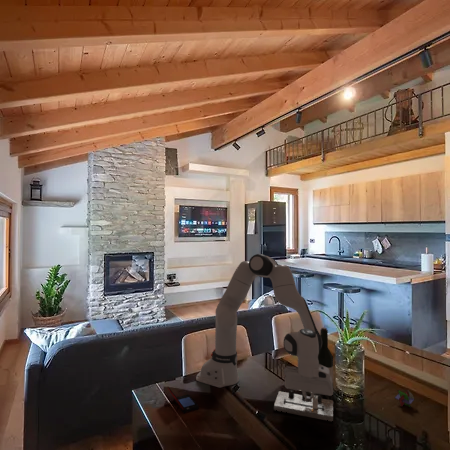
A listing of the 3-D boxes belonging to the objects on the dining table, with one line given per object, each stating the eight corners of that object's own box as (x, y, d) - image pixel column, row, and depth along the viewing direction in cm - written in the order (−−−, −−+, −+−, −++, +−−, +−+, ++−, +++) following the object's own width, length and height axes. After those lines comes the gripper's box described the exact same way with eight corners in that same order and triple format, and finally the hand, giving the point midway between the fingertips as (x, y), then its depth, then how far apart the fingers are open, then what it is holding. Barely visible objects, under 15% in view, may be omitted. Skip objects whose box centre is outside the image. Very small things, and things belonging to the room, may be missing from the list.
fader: (312, 408, 130) (312, 398, 130) (313, 404, 133) (312, 394, 133) (317, 409, 129) (317, 399, 129) (317, 405, 132) (317, 395, 132)
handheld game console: (199, 409, 133) (200, 392, 133) (176, 416, 127) (176, 398, 128) (188, 396, 144) (189, 380, 144) (166, 402, 138) (166, 385, 139)
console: (274, 410, 132) (274, 400, 132) (279, 395, 144) (279, 386, 145) (333, 421, 124) (332, 411, 124) (333, 405, 136) (332, 395, 137)
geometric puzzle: (404, 407, 131) (411, 390, 133) (389, 400, 137) (396, 383, 140) (412, 414, 133) (419, 397, 136) (397, 406, 140) (404, 390, 142)
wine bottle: (334, 395, 145) (334, 331, 146) (316, 393, 146) (316, 330, 147) (332, 387, 153) (331, 326, 154) (314, 385, 154) (314, 325, 156)
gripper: (282, 368, 133) (283, 400, 132) (332, 375, 126) (333, 409, 126) (285, 362, 139) (285, 393, 138) (332, 369, 132) (333, 402, 132)
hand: (308, 401), depth 132 cm, fingers closed
